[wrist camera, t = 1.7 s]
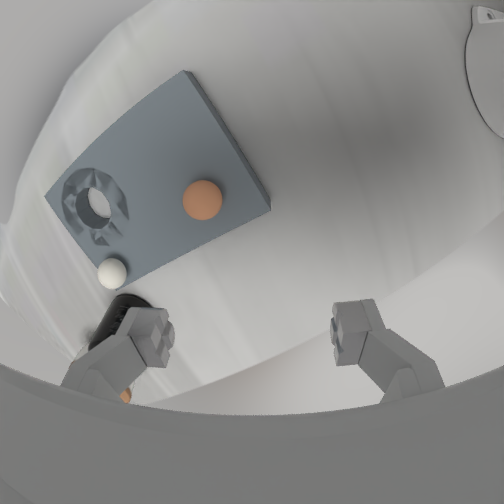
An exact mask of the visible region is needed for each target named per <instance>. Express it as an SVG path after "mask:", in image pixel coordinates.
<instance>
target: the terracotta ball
mask: <svg viewBox="0 0 504 504" xmlns="http://www.w3.org/2000/svg"><path fill="white" fill-rule="evenodd" d="M221 206H222V194H221V191H220V189H219V188H218V187H217V186H216V185H215V184H214V183H212V182H210V181H206V180H199V181H196V182H194V183H192V184H190V185H189V186H188V187H187V188H186V190H185V192H184V194H183V207H184V209H185V211H186V212H187V214H188V215H189V216H191V217H192V218H194V219H197V220H207V219H210V218H212V217H214V216H215V215H216V214H217V213H218V212H219V210H220V208H221Z"/></svg>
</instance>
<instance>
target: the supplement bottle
mask: <svg viewBox="0 0 504 504" xmlns="http://www.w3.org/2000/svg"><path fill="white" fill-rule="evenodd" d="M131 307H140V308H142V307H145V308H151V307H150V306H149V305H148V304H147V303H146V302H144V301H143V300H141V299H139V298H137V297H134V296H130V295H122V296H119V297H117V298H115V299H114V300H113V302H112V303H111V305H110V307H109V308H108V310H107V312H106V313H105V315H104V317H103V319H102V321H101V322H100V324H99V326H98V328H97V330H96V331H95V333H94V335H93V337H92V339H91V341H90V343H89V345H88V352H89V351H90V350H91V349H93V348H94V347H96V346H97V345H98V344H100V343H101V342H103V341H104V340H106V339H107V338H108V337H110V336H111V335H115V334H116V332H117V330H118V329H119V327H120V325H121V323H122V321H123V319H124V317H125V315H126V313H127V311H128V310H129V308H131Z"/></svg>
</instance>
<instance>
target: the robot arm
mask: <svg viewBox="0 0 504 504" xmlns="http://www.w3.org/2000/svg"><path fill="white" fill-rule="evenodd" d="M472 21H473V27H472V30H471V32H470V35H469V37H468V40H467V45H466V69H467V75H468V80H469V84H470V88H471V91H472V94H473V97H474V100H475V103H476V105H477V107H478V109H479V111H480V113H481V115H482V117H483V118H484V120H485V122H486V123H487V124H488V126H489V127H490V128H491V129H492V130H493V131H494V132H495V133H496V134H497V135H498V136H500V137H502V138H503V139H504V13H503V12H500V11H497V10H493V9H490V8H487V7H483V6H474V7H473V8H472ZM332 312H333V316H334V317H333V318H332V319H331V324H330V334H331V341H332V344H333V345H335V348H334V356H335V361H336V366H345V365H355V364H358V365H359V366H360V368H361V369H362V370H363V371H364V372H365V373H366V374H367V375H368V376H369V377H370V378H371V379H372V380H373V381H374V382H375V383H376V384H377V385H378V386H379V388H381V390H382V391H383V392H384V393H385V394H384V396H383V398H382V400H381V401H380V403H379V404H375V405H370V406H364V407H358V408H351V409H343V410H336V411H327V412H317V413H305V414H288V415H220V414H204V413H192V412H181V411H173V410H165V409H158V408H151V407H145V406H139V405H134V404H128V403H125V402H124V401H123V400H122V399H121V398H120V397H119V396H120V395H121V394H122V393H123V392H124V391H125V390H126V389H127V388H128V387H129V386H130V385H131V384H132V383H133V381H134V380H135V379H136V378H137V377H138V376H139V375H140V374H141V373H142V372H143V371H144V370H145V369H146V368H147V367H158V368H166V366H167V363H168V360H169V357H170V354H169V352H168V350H169V349H170V348H171V347H173V344H174V339H175V332H174V327H173V325H172V323H171V322H169V321H168V317H169V314H168V312H167V309H164V308H145V307H142V308H140V307H131V308H129V310H128V311H127V313H126V315H125V317H124V319H123V321H122V323H121V325H120V327H119V329H118V330H117V332H116V334H115V335H111V336H110V337H108V338H107V339H106V340H104V341H103V342H101V343H100V344H98V345H97V346H96V347H94V348H93V349H91V350H90V351H89V352H87V353H86V354H84V355H83V356H82V357H80V358H79V359H77V360H76V361H75V362H73V363H72V364H71V366H70V368H69V370H68V372H67V373H66V375H65V377H64V379H63V381H62V384H61V385H60V386H58V385H55V384H52V383H49V382H46V381H43V380H40V379H37V378H34V377H32V376H29V375H27V374H24V373H22V372H19V371H17V370H14V369H12V368H9V367H7V366H5V365H3V364H1V363H0V504H504V365H503V366H501V367H499V368H497V369H494V370H492V371H490V372H487V373H484V374H482V375H479V376H477V377H474V378H471V379H469V380H466V381H463V382H460V383H457V384H454V385H451V386H448V387H445V385H444V383H443V380H442V377H441V375H440V373H439V370H438V368H437V365H436V363H435V361H434V360H433V359H431V358H430V357H428V356H427V355H426V354H424V353H423V352H422V351H420V350H419V349H417V348H416V347H415V346H413V345H412V344H410V343H409V342H408V341H406V340H405V339H403V338H402V337H401V336H399V335H398V334H396V333H395V332H393V331H392V330H391V329H386V328H385V325H384V323H383V321H382V318H381V316H380V313H379V311H378V308H377V306H376V304H375V301H374V300H373V299H365V300H358V301H347V302H336V303H334V304H333V308H332Z"/></svg>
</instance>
